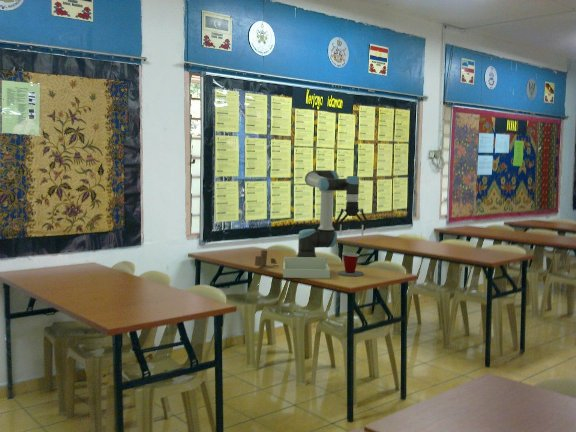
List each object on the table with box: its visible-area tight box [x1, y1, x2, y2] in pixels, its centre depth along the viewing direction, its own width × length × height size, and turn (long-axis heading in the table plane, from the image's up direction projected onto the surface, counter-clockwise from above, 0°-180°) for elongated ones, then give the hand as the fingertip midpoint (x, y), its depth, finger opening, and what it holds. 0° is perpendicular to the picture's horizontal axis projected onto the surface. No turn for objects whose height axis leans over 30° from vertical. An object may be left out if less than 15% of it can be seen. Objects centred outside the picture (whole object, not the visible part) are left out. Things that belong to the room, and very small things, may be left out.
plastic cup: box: [342, 252, 360, 273], centre depth 375 cm, size 11×11×12 cm
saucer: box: [337, 269, 365, 278], centre depth 375 cm, size 16×16×1 cm
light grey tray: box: [282, 256, 331, 279], centre depth 375 cm, size 28×28×8 cm
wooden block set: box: [254, 249, 278, 267], centre depth 399 cm, size 18×9×10 cm, turn 145°
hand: (351, 235), depth 373 cm, fingers open, 13 cm apart
